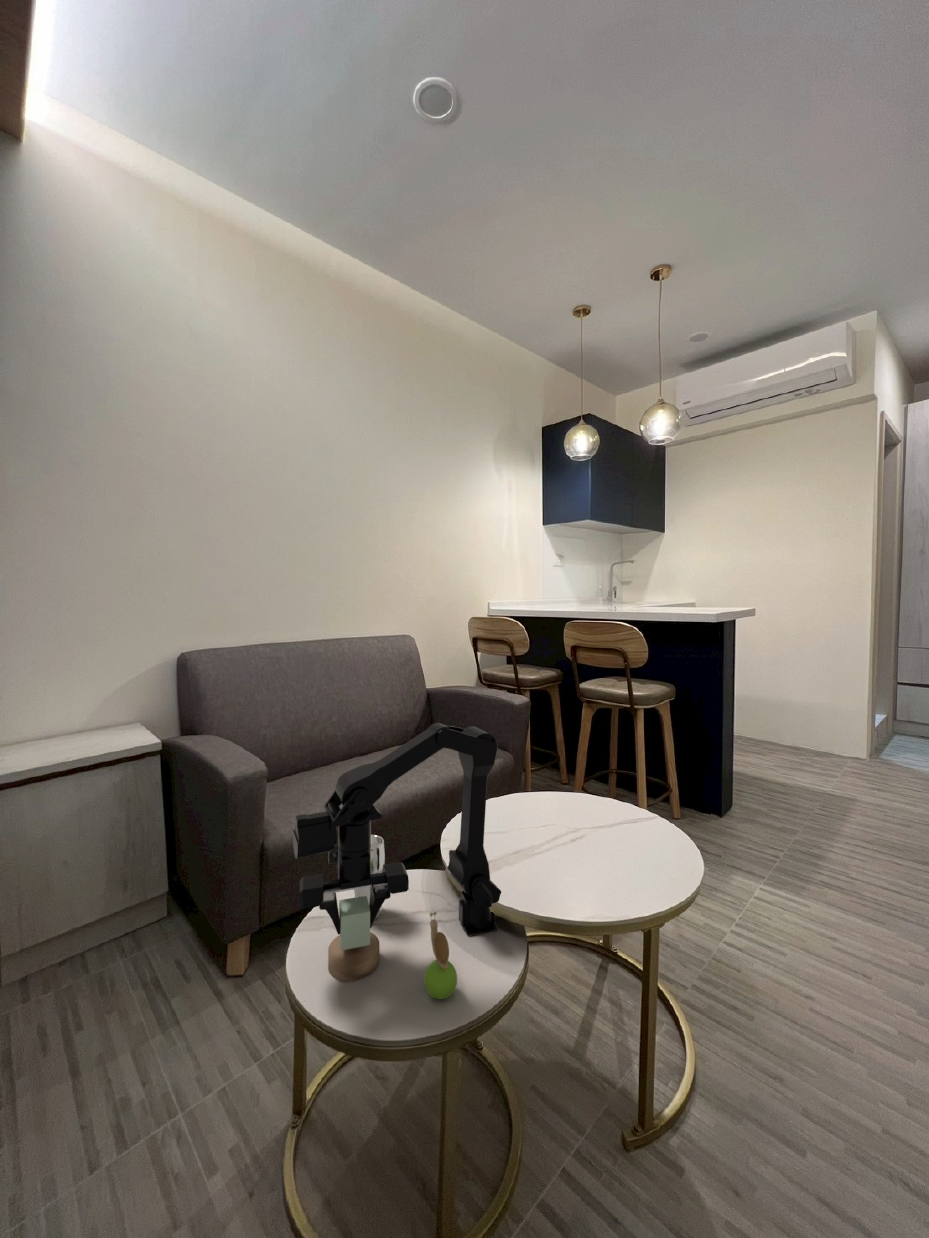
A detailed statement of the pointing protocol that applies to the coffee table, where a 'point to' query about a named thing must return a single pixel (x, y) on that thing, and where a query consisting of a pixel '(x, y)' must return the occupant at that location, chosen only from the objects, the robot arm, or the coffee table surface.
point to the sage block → (354, 922)
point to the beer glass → (374, 865)
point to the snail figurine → (440, 966)
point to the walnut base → (353, 960)
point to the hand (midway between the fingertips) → (354, 929)
